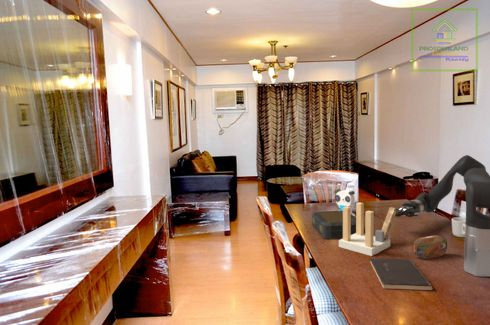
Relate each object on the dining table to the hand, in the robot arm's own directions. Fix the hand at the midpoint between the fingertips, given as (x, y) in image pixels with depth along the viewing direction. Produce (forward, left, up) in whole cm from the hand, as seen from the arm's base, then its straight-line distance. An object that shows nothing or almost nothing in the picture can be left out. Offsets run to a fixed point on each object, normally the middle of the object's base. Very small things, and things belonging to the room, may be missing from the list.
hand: (396, 214), depth 165 cm
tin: (-21, -8, -12) cm, 25 cm away
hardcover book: (-40, +9, -13) cm, 43 cm away
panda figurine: (+43, +18, -12) cm, 49 cm away
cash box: (+12, +26, -12) cm, 31 cm away
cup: (+5, -31, -12) cm, 34 cm away
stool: (-11, +16, -12) cm, 23 cm away
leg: (-10, +8, -8) cm, 15 cm away
